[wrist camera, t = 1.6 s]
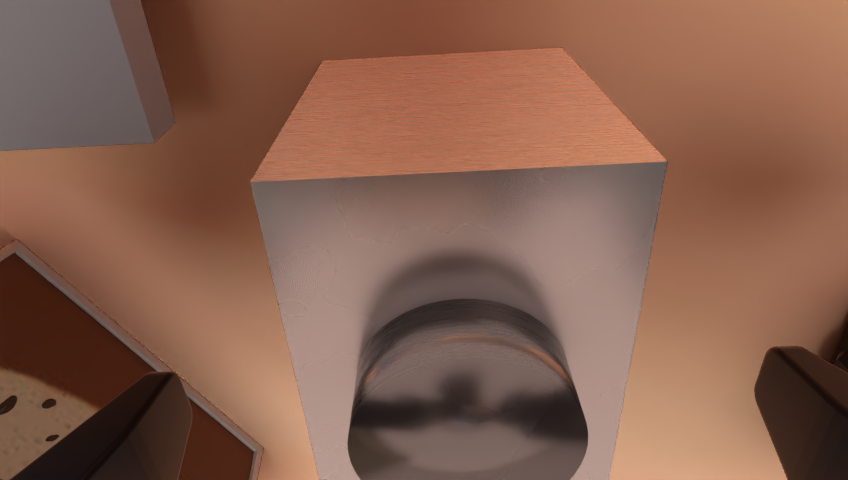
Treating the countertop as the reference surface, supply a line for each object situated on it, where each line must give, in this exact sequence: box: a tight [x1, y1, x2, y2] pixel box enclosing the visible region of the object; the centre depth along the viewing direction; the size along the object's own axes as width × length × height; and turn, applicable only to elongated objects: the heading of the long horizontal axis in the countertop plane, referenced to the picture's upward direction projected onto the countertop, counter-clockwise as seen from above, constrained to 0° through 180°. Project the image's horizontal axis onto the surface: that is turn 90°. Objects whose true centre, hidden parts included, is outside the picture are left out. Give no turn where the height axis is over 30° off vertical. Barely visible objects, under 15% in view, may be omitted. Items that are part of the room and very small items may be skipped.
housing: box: [250, 48, 667, 480], centre depth 11 cm, size 5×7×7 cm
